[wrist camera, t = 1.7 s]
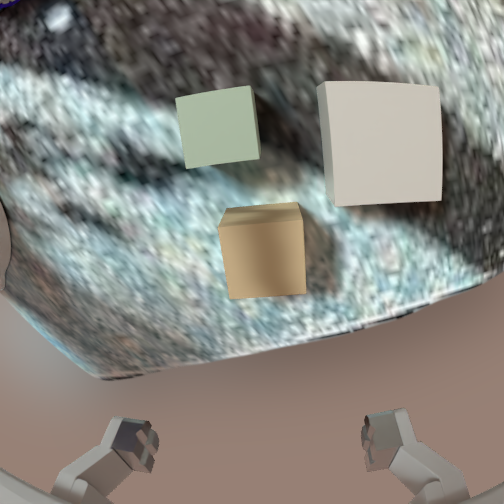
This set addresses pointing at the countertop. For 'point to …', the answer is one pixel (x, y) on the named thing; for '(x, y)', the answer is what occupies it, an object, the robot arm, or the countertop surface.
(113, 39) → the countertop surface
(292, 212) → the oak block
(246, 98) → the green cube
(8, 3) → the toy car
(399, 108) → the pedestal
